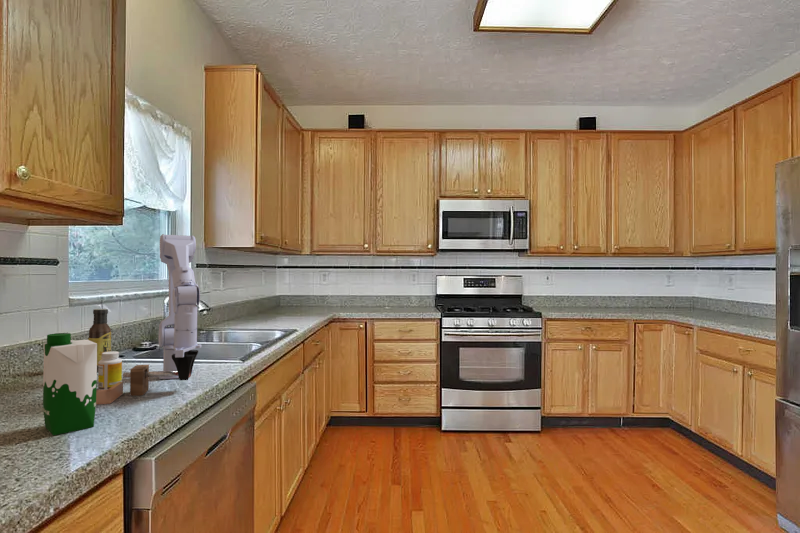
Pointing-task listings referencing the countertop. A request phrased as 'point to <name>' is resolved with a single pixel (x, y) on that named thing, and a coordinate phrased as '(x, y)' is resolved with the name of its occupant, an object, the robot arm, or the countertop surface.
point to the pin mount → (139, 380)
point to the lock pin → (156, 374)
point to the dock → (109, 394)
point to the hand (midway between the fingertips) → (185, 378)
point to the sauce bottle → (100, 333)
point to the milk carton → (69, 383)
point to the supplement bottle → (109, 370)
